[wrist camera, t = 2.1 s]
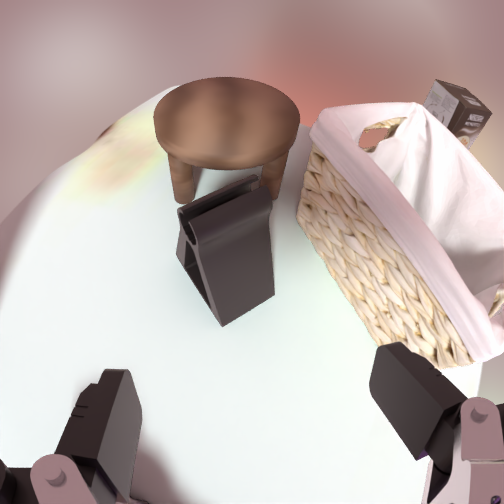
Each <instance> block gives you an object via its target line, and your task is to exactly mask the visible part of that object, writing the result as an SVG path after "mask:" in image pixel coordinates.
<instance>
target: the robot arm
mask: <svg viewBox="0 0 504 504" xmlns="http://www.w3.org/2000/svg"><path fill="white" fill-rule="evenodd" d="M369 388H370V393H371V395H372V397H373V399H374V400H375V402H376V403H377V404H378V406H379V407H380V409H381V410H382V412H383V413H384V415H385V416H386V417H387V419H388V420H389V422H390V423H391V425H392V426H393V428H394V429H395V430H396V432H397V433H398V435H399V436H400V438H401V439H402V441H403V442H404V444H405V445H406V446H407V448H408V449H409V451H410V452H411V454H412V455H413V457H414V458H415V460H416V461H417V460H419V459H421V458H423V457H425V456H427V455H429V456H430V457H431V460H430V462H429V464H428V470H427V476H426V482H425V487H424V492H423V497H422V502H421V504H504V403H503V404H499V405H495V404H494V403H493V402H491V401H489V400H488V399H485V398H481V397H473V398H469V399H468V398H467V397H466V396H465V395H464V394H463V393H462V392H461V391H460V390H459V389H458V388H456V387H455V386H454V385H453V384H452V383H451V382H450V381H449V380H448V379H447V378H446V377H445V376H444V375H442V373H441V372H440V371H439V370H438V369H437V368H435V366H434V365H433V364H432V363H430V362H429V361H428V360H427V359H426V358H425V357H423V356H421V355H419V354H417V353H415V352H411V351H410V350H409V349H408V348H407V347H406V346H405V345H404V344H403V343H402V342H399V341H398V342H394V343H390V344H385V345H381V346H379V347H378V349H377V351H376V355H375V360H374V364H373V369H372V373H371V377H370V381H369ZM75 406H76V407H74V409H73V411H72V413H71V417H70V418H69V420H68V422H67V425H66V427H65V429H64V432H63V434H62V436H61V439H60V441H59V444H58V446H57V448H56V451H55V453H54V454H50V455H46V456H44V457H42V458H40V459H39V460H37V461H36V462H35V463H34V465H33V467H32V468H8V467H7V466H6V465H5V464H4V463H3V461H2V460H1V459H0V504H116V502H121V503H129V496H130V489H131V482H132V475H133V469H134V463H135V457H136V451H137V445H138V440H139V435H140V429H141V424H142V409H141V405H140V401H139V398H138V395H137V392H136V389H135V386H134V383H133V379H132V376H131V373H130V371H129V370H128V369H105V370H104V371H103V373H102V375H101V378H100V380H99V382H98V384H92V383H91V384H90V385H89V386H88V387H87V388H86V389H85V390H84V391H83V392H81V394H80V396H79V398H78V400H77V402H76V404H75Z"/></svg>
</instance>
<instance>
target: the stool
mask: <svg viewBox="0 0 504 504" xmlns="http://www.w3.org/2000/svg"><path fill="white" fill-rule="evenodd" d="M153 118H154V125H155V132H156V137H157V140H158V142H159V144H160V145H161V147H162V148H163V149H164V150H165V151H166V152H167V153H168V160H169V166H170V173H171V179H172V185H173V191H174V197H175V200H176V202H177V203H179V204H188V203H190V202H192V201H193V199H194V197H195V194H194V183H193V170H192V165H193V166H196V167H201V168H206V169H214V170H241V169H248V168H253V167H257V166H261V165H263V168H262V174H261V180H260V186H259V188H260V187H262V186H264V185H267V187H268V189H269V191H270V194H271V197H272V201H273V200H275V199H276V198H277V197H278V194H279V190H280V186H281V182H282V178H283V174H284V169H285V165H286V161H287V157H288V153H289V149H290V148H291V147H292V145H293V144H294V142H295V139H296V135H297V131H298V127H299V123H300V114H299V111H298V109H297V107H296V105H295V104H294V103H293V101H292V100H291V99H290V98H289V97H288V96H286V95H285V94H284V93H282V92H281V91H279V90H277V89H276V88H273V87H271V86H269V85H266V84H264V83H261V82H258V81H253V80H249V79H244V78H235V77H216V78H207V79H201V80H197V81H193V82H190V83H187V84H184V85H182V86H179V87H177V88H176V89H174V90H172V91H171V92H169V93H168V94H166V95H165V96H164V97H163V98H162V99H161V100H160V101H159V103H158V104H157V106H156V108H155V111H154V116H153Z"/></svg>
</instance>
